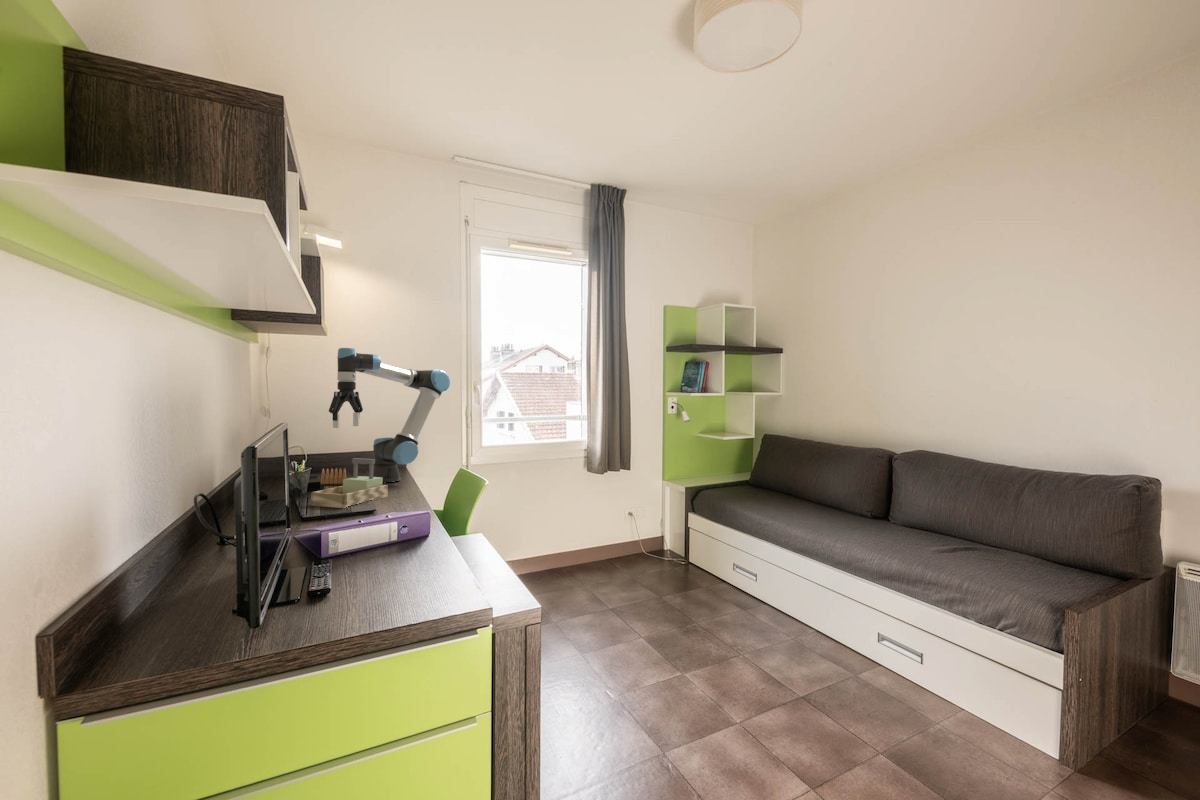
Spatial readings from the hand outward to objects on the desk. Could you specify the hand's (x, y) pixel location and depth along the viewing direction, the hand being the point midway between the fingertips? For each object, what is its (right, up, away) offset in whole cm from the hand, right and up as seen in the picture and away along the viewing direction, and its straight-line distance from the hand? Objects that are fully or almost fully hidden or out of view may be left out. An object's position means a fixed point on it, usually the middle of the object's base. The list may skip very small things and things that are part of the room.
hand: (346, 427), depth 229 cm
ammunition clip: (-2, -30, -8) cm, 31 cm away
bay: (+13, -30, -21) cm, 39 cm away
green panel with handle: (+14, -29, -14) cm, 35 cm away
